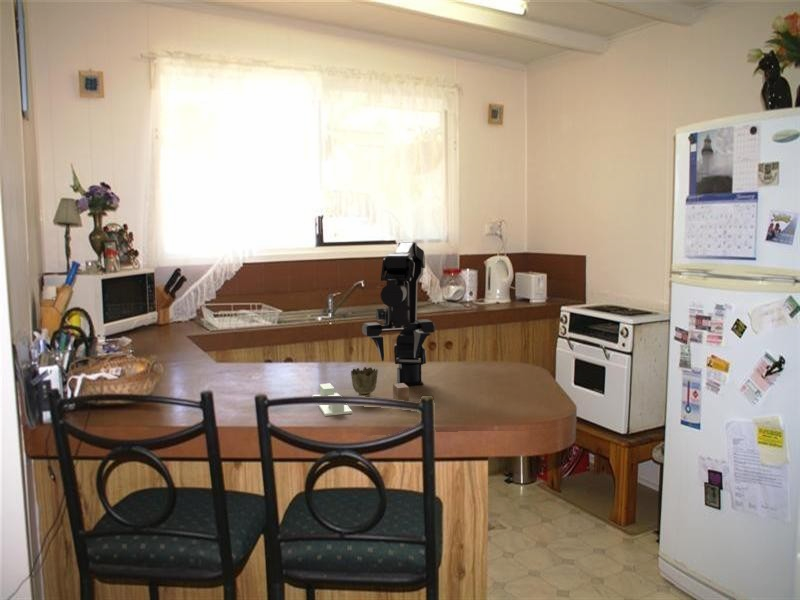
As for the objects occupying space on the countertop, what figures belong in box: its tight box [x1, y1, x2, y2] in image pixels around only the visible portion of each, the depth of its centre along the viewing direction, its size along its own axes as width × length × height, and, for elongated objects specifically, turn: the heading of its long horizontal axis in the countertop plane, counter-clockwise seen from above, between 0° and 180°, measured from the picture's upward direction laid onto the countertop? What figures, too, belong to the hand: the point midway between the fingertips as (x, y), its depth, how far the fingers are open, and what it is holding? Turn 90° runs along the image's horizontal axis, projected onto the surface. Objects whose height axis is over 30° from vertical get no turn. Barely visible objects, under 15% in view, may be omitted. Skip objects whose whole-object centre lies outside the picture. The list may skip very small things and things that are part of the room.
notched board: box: [312, 382, 353, 417], centre depth 170 cm, size 7×18×4 cm, turn 18°
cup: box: [350, 366, 379, 397], centre depth 175 cm, size 8×7×8 cm
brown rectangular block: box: [392, 382, 410, 402], centre depth 170 cm, size 3×4×5 cm, turn 18°
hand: (398, 359), depth 169 cm, fingers open, 9 cm apart
